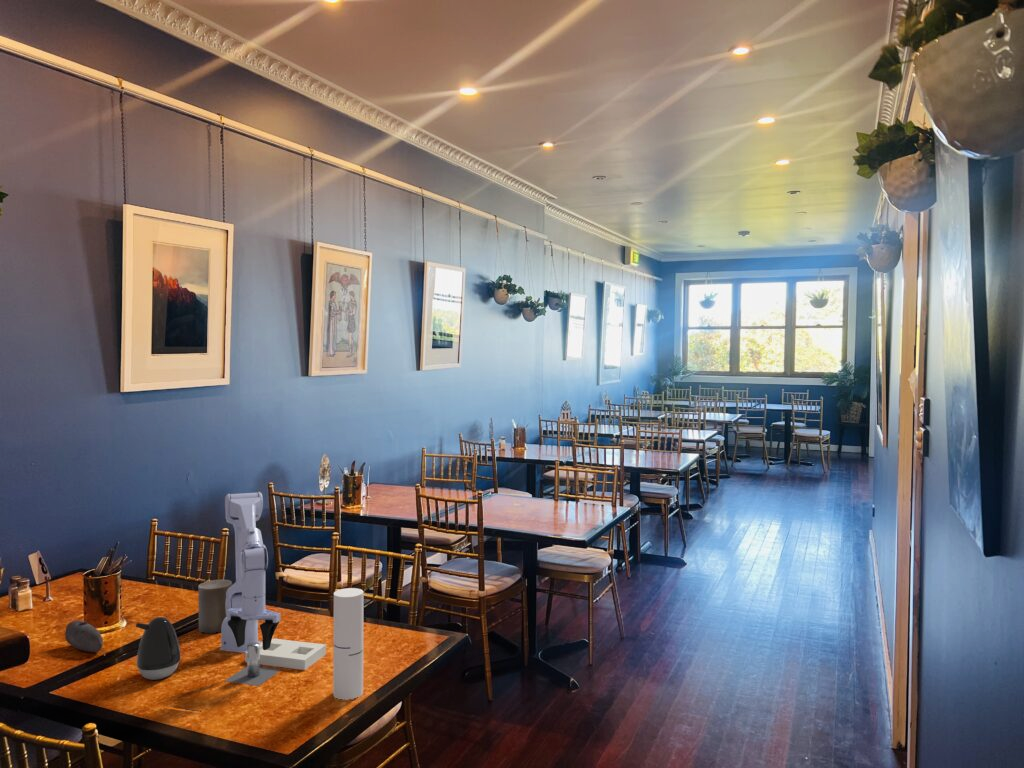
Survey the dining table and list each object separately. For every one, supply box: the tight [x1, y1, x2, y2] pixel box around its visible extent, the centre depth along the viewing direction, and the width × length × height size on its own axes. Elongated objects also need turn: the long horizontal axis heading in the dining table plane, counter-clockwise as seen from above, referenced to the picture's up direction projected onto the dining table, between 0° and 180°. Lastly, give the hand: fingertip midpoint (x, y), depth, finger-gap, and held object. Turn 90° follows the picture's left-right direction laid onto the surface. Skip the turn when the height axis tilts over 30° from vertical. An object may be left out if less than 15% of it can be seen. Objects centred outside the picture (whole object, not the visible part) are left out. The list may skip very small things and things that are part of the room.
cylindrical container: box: [332, 587, 365, 701], centre depth 174 cm, size 7×7×25 cm
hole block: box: [244, 637, 327, 671], centre depth 195 cm, size 18×11×3 cm, turn 75°
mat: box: [224, 666, 282, 687], centre depth 184 cm, size 10×10×1 cm
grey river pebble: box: [64, 620, 104, 653], centre depth 200 cm, size 15×5×7 cm, turn 57°
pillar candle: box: [197, 579, 233, 634], centre depth 218 cm, size 10×10×15 cm
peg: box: [246, 642, 261, 678], centre depth 184 cm, size 3×3×8 cm
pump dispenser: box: [135, 616, 182, 681], centre depth 184 cm, size 10×10×15 cm
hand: (253, 647), depth 183 cm, fingers open, 7 cm apart
